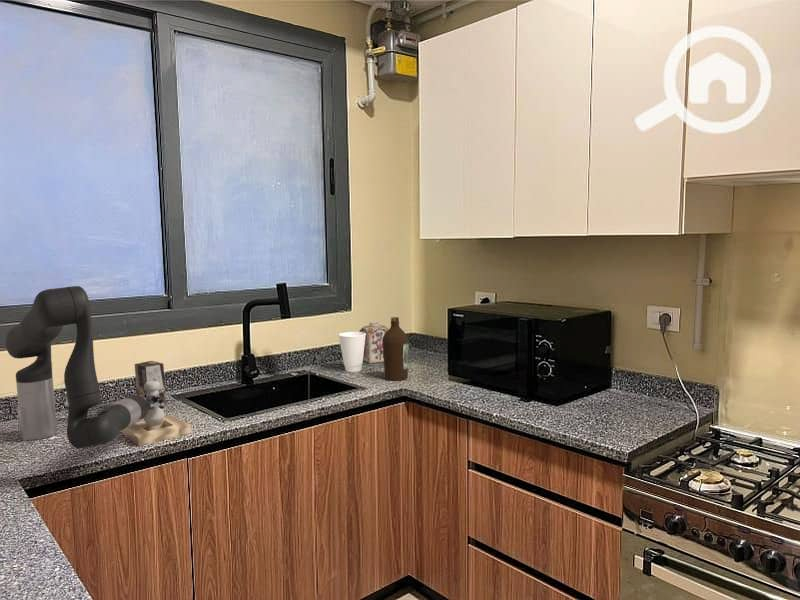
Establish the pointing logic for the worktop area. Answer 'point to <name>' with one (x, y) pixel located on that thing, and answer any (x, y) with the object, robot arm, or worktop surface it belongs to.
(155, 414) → the salt shaker
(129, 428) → the bore housing
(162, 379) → the coffee box
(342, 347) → the cup
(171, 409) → the worktop surface
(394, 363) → the olive oil
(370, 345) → the decorative jar
